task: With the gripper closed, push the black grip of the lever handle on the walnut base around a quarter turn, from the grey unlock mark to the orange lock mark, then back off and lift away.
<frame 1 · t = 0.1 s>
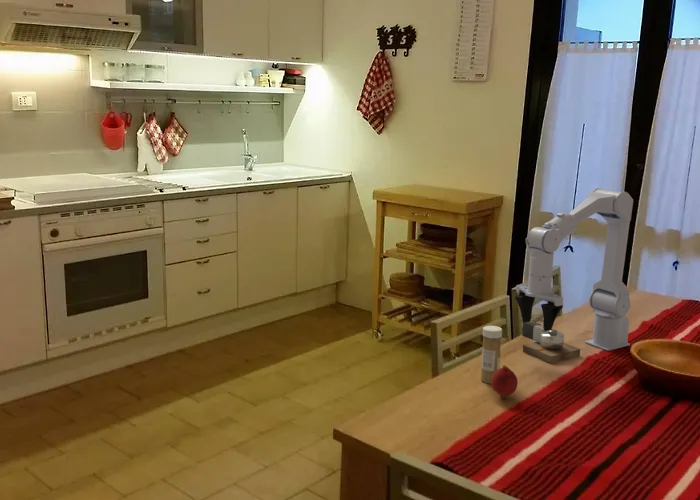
hand: (536, 325, 179), 10 cm above the table, fingers open, 7 cm apart
lever handle: (542, 334, 189), point 4 cm above the table, hinge at 0.0°
walnut base: (550, 354, 187), on the table
onion: (503, 398, 159), on the table
sprinkles bottle: (489, 381, 169), on the table
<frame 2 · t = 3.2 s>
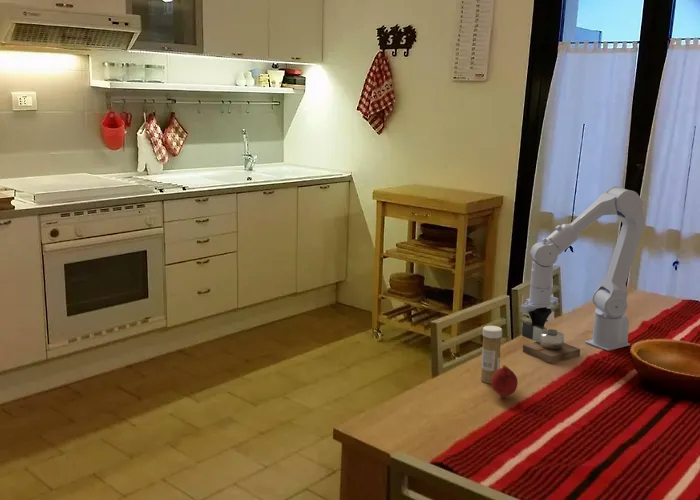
hand: (537, 333, 193), 3 cm above the table, fingers closed, pressing on lever handle
lever handle: (542, 334, 189), point 4 cm above the table, hinge at 0.4°, touching gripper
everything else where it was.
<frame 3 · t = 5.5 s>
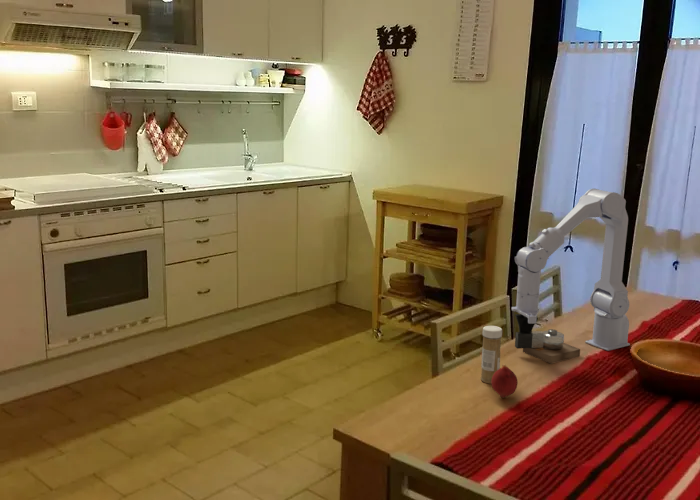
hand: (524, 340, 187), 3 cm above the table, fingers closed, pressing on lever handle
lever handle: (539, 338, 186), point 4 cm above the table, hinge at 67.1°, touching gripper
everything else where it was.
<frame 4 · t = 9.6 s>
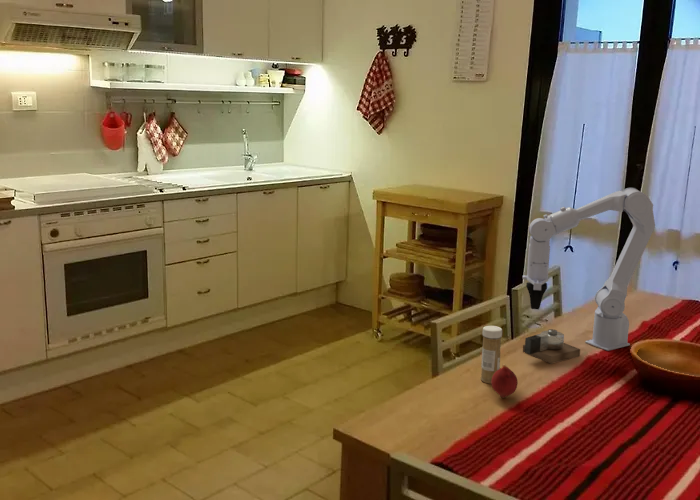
hand: (535, 308, 196), 9 cm above the table, fingers closed
lever handle: (543, 340, 184), point 4 cm above the table, hinge at 95.2°
everything else where it was.
at the end: lever handle at +95° (first picture: +0°); sprinkles bottle moved 0.2 cm from its start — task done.
